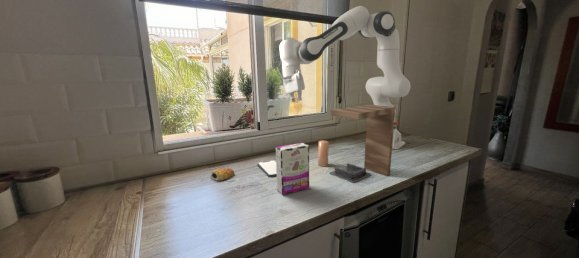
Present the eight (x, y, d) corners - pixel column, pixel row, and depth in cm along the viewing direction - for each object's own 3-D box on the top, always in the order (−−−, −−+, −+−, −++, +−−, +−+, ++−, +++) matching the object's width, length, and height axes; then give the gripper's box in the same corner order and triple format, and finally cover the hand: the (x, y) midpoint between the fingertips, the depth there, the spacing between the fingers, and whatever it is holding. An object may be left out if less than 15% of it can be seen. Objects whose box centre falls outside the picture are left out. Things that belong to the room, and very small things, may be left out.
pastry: (228, 171, 111) (227, 163, 110) (238, 175, 107) (237, 167, 106) (209, 178, 104) (208, 169, 103) (219, 183, 100) (218, 173, 99)
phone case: (288, 175, 107) (274, 163, 122) (288, 171, 107) (274, 159, 121) (268, 179, 104) (256, 165, 118) (268, 175, 103) (256, 162, 118)
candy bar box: (302, 183, 98) (302, 142, 94) (309, 188, 93) (310, 145, 90) (275, 190, 93) (275, 146, 89) (282, 195, 88) (281, 149, 85)
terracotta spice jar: (322, 162, 121) (323, 140, 118) (330, 165, 117) (330, 141, 115) (316, 164, 118) (316, 141, 116) (323, 167, 114) (323, 143, 112)
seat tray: (347, 167, 115) (347, 161, 114) (370, 175, 106) (371, 169, 105) (329, 173, 107) (329, 168, 107) (353, 183, 98) (353, 176, 98)
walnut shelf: (364, 167, 115) (368, 104, 109) (389, 174, 106) (395, 107, 100) (328, 181, 100) (330, 109, 94) (354, 192, 91) (358, 113, 85)
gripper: (305, 68, 115) (310, 99, 117) (292, 75, 135) (296, 101, 136) (292, 70, 114) (297, 101, 115) (280, 76, 133) (284, 103, 135)
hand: (296, 101), depth 126 cm, fingers open, 8 cm apart
